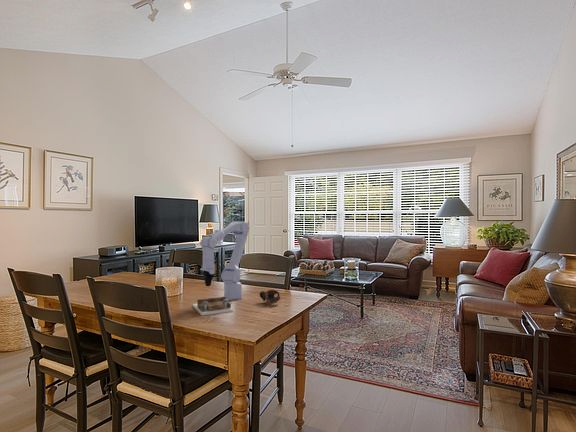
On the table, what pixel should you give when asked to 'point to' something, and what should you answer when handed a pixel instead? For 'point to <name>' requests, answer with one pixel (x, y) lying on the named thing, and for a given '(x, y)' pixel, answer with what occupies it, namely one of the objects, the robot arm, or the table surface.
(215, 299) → the brown rectangular box
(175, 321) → the table surface
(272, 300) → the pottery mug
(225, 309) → the board
